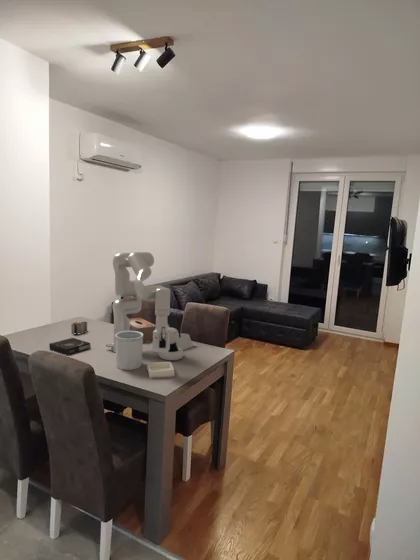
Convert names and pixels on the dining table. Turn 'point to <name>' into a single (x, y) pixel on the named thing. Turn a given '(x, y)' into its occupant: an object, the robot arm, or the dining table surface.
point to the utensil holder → (129, 349)
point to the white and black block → (184, 342)
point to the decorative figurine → (172, 347)
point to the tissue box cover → (143, 328)
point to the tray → (160, 369)
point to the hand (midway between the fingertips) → (161, 345)
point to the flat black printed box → (69, 346)
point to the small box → (156, 342)
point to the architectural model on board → (78, 327)
